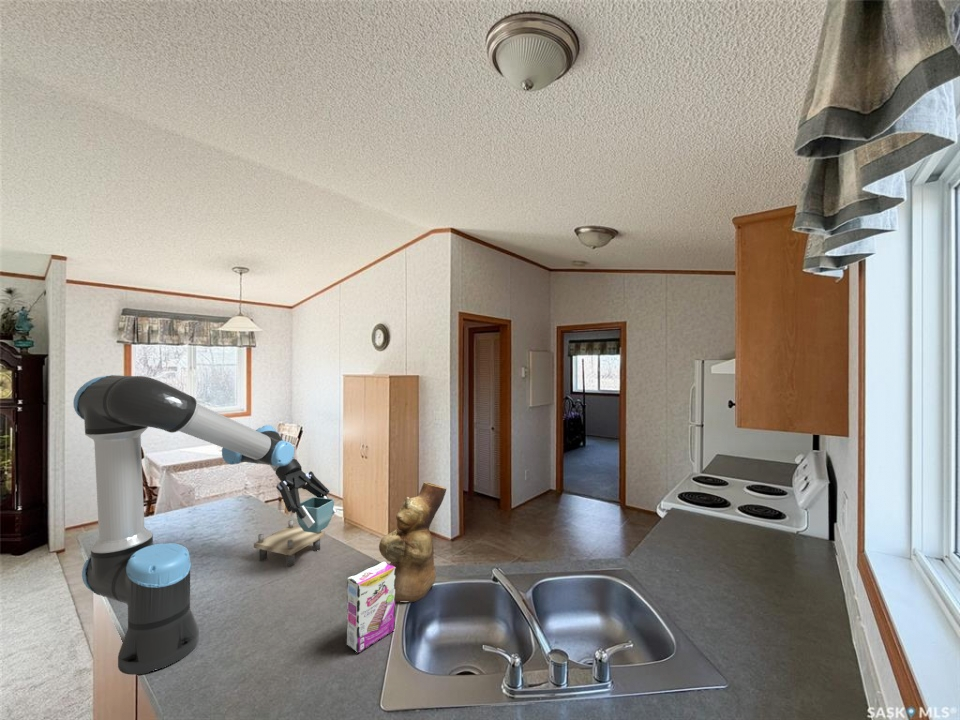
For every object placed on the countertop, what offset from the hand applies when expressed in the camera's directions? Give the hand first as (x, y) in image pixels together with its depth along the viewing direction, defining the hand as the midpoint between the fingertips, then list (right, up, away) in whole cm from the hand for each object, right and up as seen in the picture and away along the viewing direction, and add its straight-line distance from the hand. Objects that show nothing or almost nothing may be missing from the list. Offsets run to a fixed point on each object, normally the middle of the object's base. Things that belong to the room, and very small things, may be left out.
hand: (322, 519), depth 134 cm
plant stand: (-16, -17, +12) cm, 26 cm away
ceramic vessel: (+31, -17, -8) cm, 37 cm away
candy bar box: (+24, -17, -32) cm, 44 cm away
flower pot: (-3, -4, +1) cm, 5 cm away
